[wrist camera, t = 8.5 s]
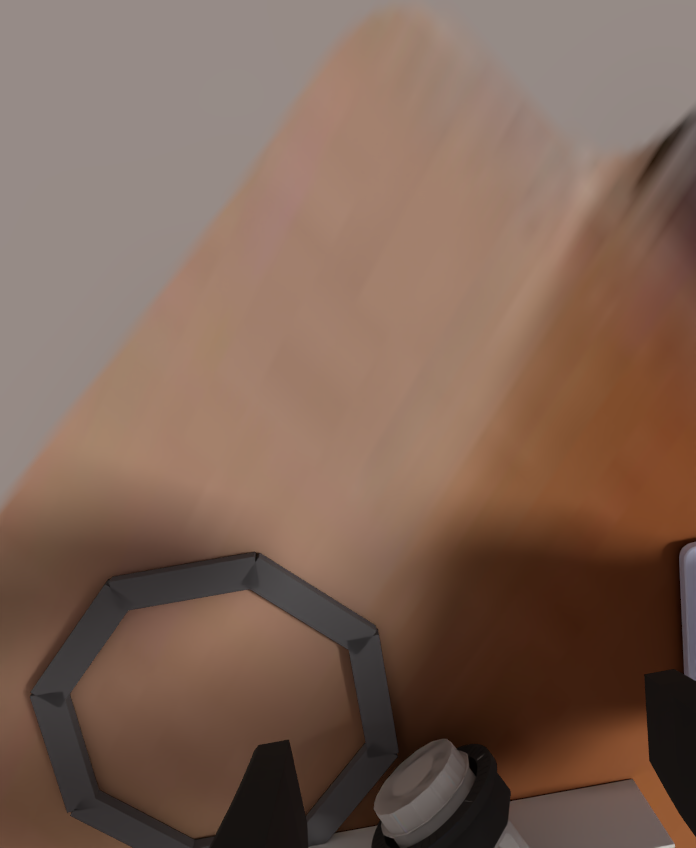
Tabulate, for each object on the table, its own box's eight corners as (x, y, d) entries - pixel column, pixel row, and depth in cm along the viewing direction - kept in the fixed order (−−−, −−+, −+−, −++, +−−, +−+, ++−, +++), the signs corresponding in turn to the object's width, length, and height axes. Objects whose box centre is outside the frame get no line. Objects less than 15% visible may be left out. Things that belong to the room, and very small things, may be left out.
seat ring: (361, 533, 22) (362, 537, 22) (411, 825, 25) (412, 833, 25) (4, 595, 22) (-1, 601, 21) (96, 882, 25) (93, 892, 24)
